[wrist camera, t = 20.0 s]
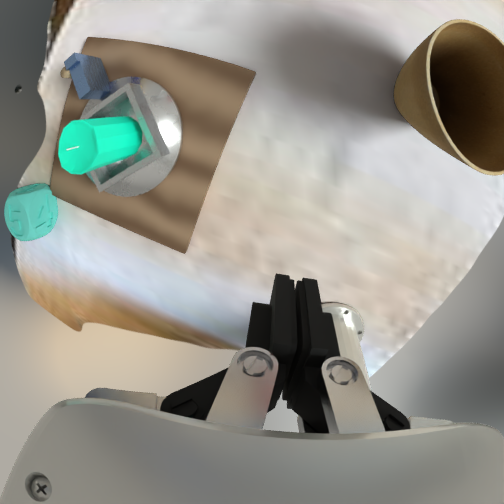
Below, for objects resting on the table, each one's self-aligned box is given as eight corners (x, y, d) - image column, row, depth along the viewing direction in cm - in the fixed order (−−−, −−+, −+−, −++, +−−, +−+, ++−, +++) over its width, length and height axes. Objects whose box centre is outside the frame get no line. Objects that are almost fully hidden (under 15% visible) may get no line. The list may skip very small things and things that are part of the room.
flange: (204, 164, 35) (189, 172, 29) (108, 212, 39) (85, 228, 33) (143, 29, 26) (120, 17, 21) (58, 94, 31) (31, 95, 25)
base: (186, 250, 42) (171, 274, 36) (53, 192, 39) (26, 205, 33) (256, 73, 30) (250, 61, 24) (91, 38, 28) (63, 30, 21)
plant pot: (431, 171, 33) (501, 206, 18) (348, 107, 31) (398, 100, 16) (471, 95, 26) (545, 100, 12) (395, 28, 24) (455, -9, 10)
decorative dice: (56, 182, 39) (25, 196, 32) (61, 225, 43) (33, 243, 35) (29, 183, 39) (0, 196, 32) (35, 222, 43) (8, 239, 36)
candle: (122, 167, 35) (68, 190, 24) (99, 137, 33) (40, 150, 22) (151, 137, 33) (98, 149, 22) (126, 106, 31) (68, 108, 20)
